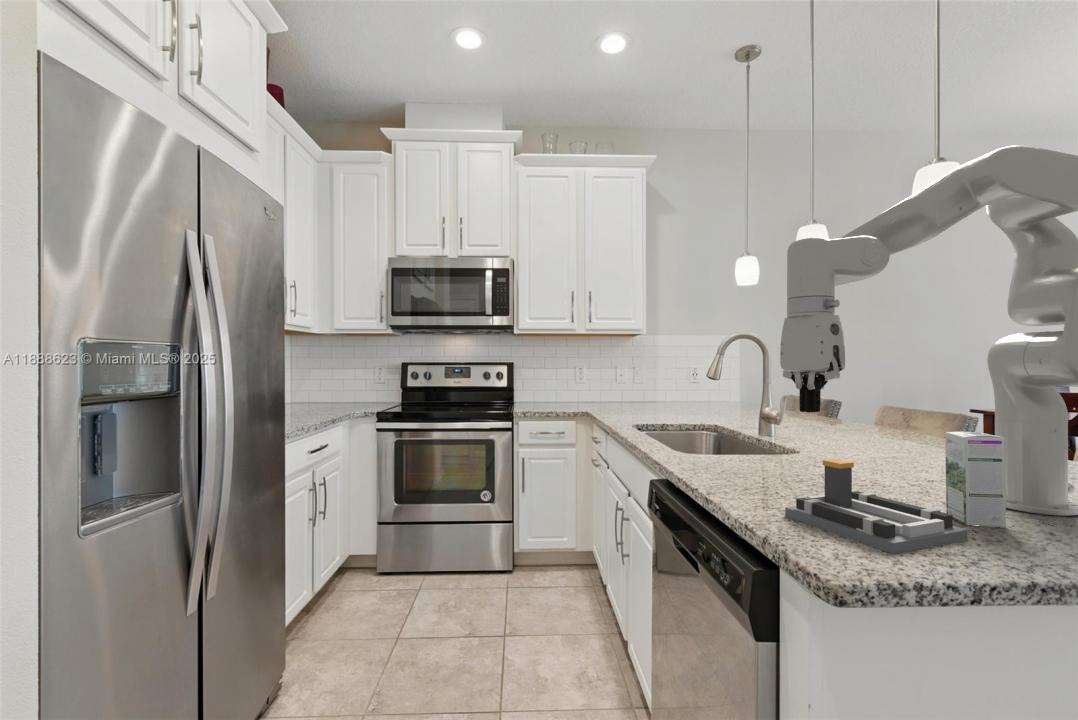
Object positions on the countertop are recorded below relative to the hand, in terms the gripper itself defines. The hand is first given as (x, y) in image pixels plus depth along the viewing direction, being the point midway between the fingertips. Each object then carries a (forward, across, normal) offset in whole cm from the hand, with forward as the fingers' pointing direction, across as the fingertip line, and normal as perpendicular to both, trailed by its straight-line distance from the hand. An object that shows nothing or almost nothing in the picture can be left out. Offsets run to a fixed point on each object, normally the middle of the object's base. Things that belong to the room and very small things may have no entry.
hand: (809, 411), depth 90 cm
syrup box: (+17, -15, -19) cm, 30 cm away
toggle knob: (+15, -5, 0) cm, 16 cm away
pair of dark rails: (+16, -11, 0) cm, 19 cm away
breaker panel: (+17, -11, 0) cm, 21 cm away
